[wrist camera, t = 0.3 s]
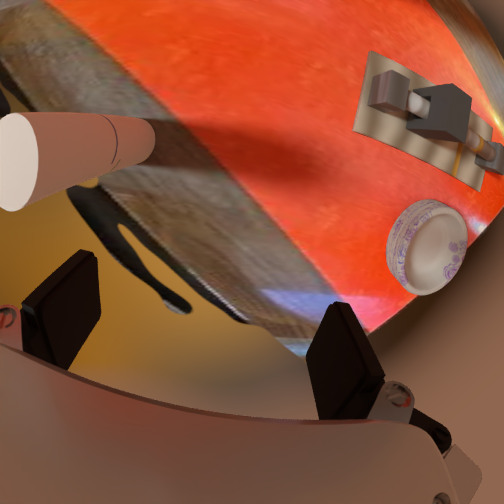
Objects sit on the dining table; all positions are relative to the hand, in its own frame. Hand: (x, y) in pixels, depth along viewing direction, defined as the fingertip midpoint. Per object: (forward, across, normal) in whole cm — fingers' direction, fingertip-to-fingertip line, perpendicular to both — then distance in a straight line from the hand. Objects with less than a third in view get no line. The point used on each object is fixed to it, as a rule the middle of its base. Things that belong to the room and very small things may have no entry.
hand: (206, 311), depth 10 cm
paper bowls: (+31, -32, +1) cm, 44 cm away
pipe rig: (+31, -30, -19) cm, 46 cm away
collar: (+29, -25, -19) cm, 42 cm away
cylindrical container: (+31, +16, -3) cm, 35 cm away
